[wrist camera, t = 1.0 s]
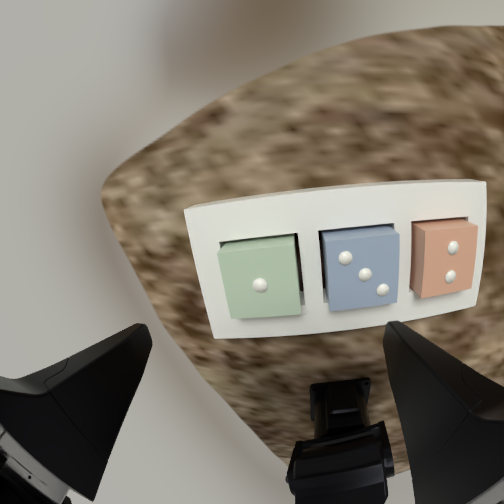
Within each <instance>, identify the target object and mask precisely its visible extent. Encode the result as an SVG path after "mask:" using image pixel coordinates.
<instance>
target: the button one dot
mask: <svg viewBox="0 0 504 504" xmlns="http://www.w3.org/2000/svg"><path fill="white" fill-rule="evenodd" d="M217 256H218V261H219V265H220V270H221V275H222V280H223V285H224V289H225V294H226V298H227V303H228V308H229V312H230V316H231V319H240V318H259V317H274V316H287V315H299V314H301V293H300V283H299V273H298V264H297V255H296V246H295V237H294V233H292V234H283V235H274V236H265V237H257V238H248V239H240V240H231V241H227V242H226V243H225V245H224V246H223V247H222V248H221V249H220V250H219V251H218V253H217Z"/></svg>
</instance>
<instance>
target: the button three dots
mask: <svg viewBox="0 0 504 504" xmlns="http://www.w3.org/2000/svg"><path fill="white" fill-rule="evenodd" d="M321 234H322V245H323V258H324V272H325V288H326V296H327V301H328V306H329V311H339V310H348V309H356V308H363V307H371V306H378V305H385V304H391V303H397V297H398V282H399V253H400V234H399V233H398V232H396V231H395V230H394V229H392V228H391V227H389V226H388V225H386V224H378V225H368V226H358V227H348V228H339V229H329V230H321Z"/></svg>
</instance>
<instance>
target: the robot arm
mask: <svg viewBox="0 0 504 504" xmlns="http://www.w3.org/2000/svg"><path fill="white" fill-rule="evenodd" d="M151 348H152V339H151V336H150V333H149V330H148V327H147V326H146V325H145V324H139V323H137V324H134V325H132V326H130V327H128V328H126V329H124V330H122V331H120V332H118V333H116V334H114V335H112V336H110V337H108V338H106V339H104V340H102V341H100V342H98V343H96V344H95V345H92V346H90V347H88V348H86V349H84V350H82V351H80V352H78V353H76V354H74V355H72V356H70V357H69V358H66V359H64V360H62V361H60V362H58V363H56V364H54V365H51V366H49V367H47V368H44V369H42V370H40V371H37V372H35V373H32V374H30V375H27V376H25V377H22V378H18V379H9V378H5V377H1V376H0V504H72V503H71V500H70V498H69V497H67V496H66V495H67V493H68V491H69V489H71V490H73V491H74V492H76V493H78V494H80V495H81V496H83V497H85V498H87V499H88V500H90V501H92V502H93V501H94V499H95V496H96V493H97V490H98V487H99V485H100V482H101V479H102V476H103V473H104V471H105V468H106V465H107V462H108V459H109V456H110V454H111V451H112V449H113V446H114V444H115V441H116V438H117V436H118V433H119V431H120V428H121V426H122V423H123V421H124V419H125V416H126V413H127V411H128V409H129V406H130V404H131V402H132V399H133V397H134V395H135V392H136V390H137V388H138V385H139V383H140V381H141V378H142V376H143V373H144V370H145V367H146V363H147V360H148V357H149V354H150V351H151ZM383 348H384V353H385V359H386V364H387V370H388V376H389V381H390V385H391V388H392V392H393V395H394V399H395V403H396V406H397V410H398V414H399V418H400V422H401V426H402V431H403V435H404V440H405V444H406V449H407V454H408V459H409V464H410V470H411V475H412V482H413V489H414V497H415V504H504V387H503V386H501V385H499V384H497V383H496V382H494V381H492V380H490V379H488V378H487V377H485V376H483V375H481V374H480V373H478V372H476V371H475V370H473V369H472V368H470V367H469V366H467V365H466V364H464V363H463V364H462V362H461V361H460V360H458V359H457V358H455V357H454V356H452V355H451V354H449V353H448V352H446V351H445V350H443V349H441V348H440V347H438V346H437V345H435V344H434V343H432V342H431V341H429V340H428V339H426V338H425V337H423V336H422V335H420V334H418V333H417V332H415V331H414V330H412V329H411V328H409V327H408V326H406V325H404V324H403V323H401V322H400V321H398V320H396V321H388V322H387V324H386V328H385V333H384V337H383ZM370 385H371V381H370V378H360V379H353V380H346V381H337V382H328V383H317V384H312V385H311V386H310V401H311V420H312V421H314V427H315V438H314V439H312V440H306V441H302V440H301V441H296V444H295V448H294V449H293V453H292V457H291V460H290V464H289V467H288V471H287V476H286V482H287V483H288V484H289V487H290V491H291V493H292V494H293V495H294V496H295V504H384V503H385V501H386V499H387V497H388V487H387V479H386V478H389V477H392V476H394V464H393V457H392V452H391V447H390V443H389V439H388V435H387V431H386V427H385V423H384V420H383V421H380V422H378V423H377V424H373V425H370V421H369V415H368V410H367V402H368V396H369V391H370Z"/></svg>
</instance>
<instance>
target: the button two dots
mask: <svg viewBox="0 0 504 504" xmlns="http://www.w3.org/2000/svg"><path fill="white" fill-rule="evenodd" d="M477 234H478V225H475V224H473V223H471V222H468V221H466V220H464V219H461V218H459V217H456V218H444V219H432V220H421V221H411V268H410V284H409V285H410V286H411V287H412V288H413V290H414V291H415V292H416V293H417V294H418V296H419V297H420V298H421V299H422V298H427V297H432V296H438V295H443V294H448V293H453V292H457V291H462V290H467V289H471V287H472V281H473V274H474V267H475V258H476V248H477Z"/></svg>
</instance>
